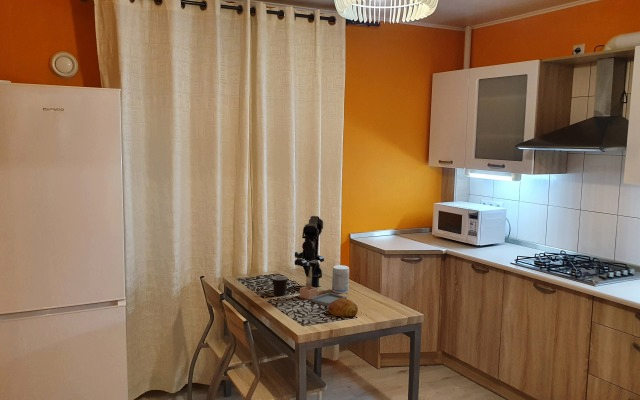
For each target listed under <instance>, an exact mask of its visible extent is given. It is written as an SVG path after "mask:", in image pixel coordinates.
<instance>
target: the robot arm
mask: <svg viewBox="0 0 640 400" xmlns="http://www.w3.org/2000/svg"><path fill="white" fill-rule="evenodd" d="M309 218H310V219H309V220H308V223H307V224H305V225H304V226H303V230H302V237H301V238H302V239H304V241H303V242H302V246H301V248H302V251H301V252H300V251H295V252H294V258H295V260H294V263H293V264H294V265H295V266H298V267H302V268H303V271H304V274H305V277H306V276H307V277H308V275H309V271H310V267H312V287H315V288H317V289H318V288H321V286H320V279H321V278H323V270H322V268H321V264H320V263H323V262H325V257H324V256H323V255H319V245H320V236H321V234H322V232H323V229H324V220H322V219H321V218H320V216H318V215H311V216H310V217H309Z"/></svg>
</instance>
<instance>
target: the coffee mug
mask: <svg viewBox="0 0 640 400" xmlns="http://www.w3.org/2000/svg"><path fill="white" fill-rule="evenodd" d="M288 280H289V279H288V276H284V275H275V276H272V277H271V281H272V282H271V283H272V292H273V296H275V297H284V296H286V292H287V285H288Z"/></svg>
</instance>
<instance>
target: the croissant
mask: <svg viewBox="0 0 640 400" xmlns="http://www.w3.org/2000/svg"><path fill="white" fill-rule="evenodd" d="M326 307H327V308H326V309H327V311H328V312H329V314H331V315H333V316H335V317H339V318H346V317H354V316H356V315H357V314H358V311H359V309H358V307H359V306H357V304H356V303H355V302H354V301H352V300H351V299H348V298H347V299H345V298H339V299H337V300H335V301H333V302H331V303H330V305H329V306H326Z"/></svg>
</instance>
